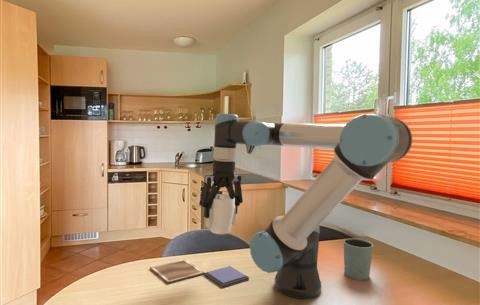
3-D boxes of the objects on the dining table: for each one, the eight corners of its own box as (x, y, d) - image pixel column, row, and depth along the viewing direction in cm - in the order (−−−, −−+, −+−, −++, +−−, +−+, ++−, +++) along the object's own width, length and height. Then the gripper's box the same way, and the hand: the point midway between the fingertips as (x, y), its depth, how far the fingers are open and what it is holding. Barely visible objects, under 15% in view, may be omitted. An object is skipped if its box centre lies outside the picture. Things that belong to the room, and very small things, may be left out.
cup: (234, 228, 118) (236, 195, 117) (231, 236, 109) (233, 200, 108) (209, 226, 119) (211, 193, 118) (204, 234, 110) (206, 198, 109)
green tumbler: (373, 282, 115) (375, 248, 114) (342, 278, 117) (345, 245, 116) (367, 270, 125) (370, 239, 124) (340, 267, 127) (342, 236, 126)
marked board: (204, 274, 115) (204, 272, 115) (167, 284, 107) (167, 282, 107) (184, 260, 126) (185, 259, 126) (149, 268, 118) (150, 267, 118)
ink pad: (248, 279, 113) (249, 276, 113) (222, 287, 106) (222, 284, 106) (229, 268, 121) (229, 265, 121) (204, 275, 115) (204, 271, 115)
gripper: (243, 158, 121) (239, 218, 123) (190, 158, 108) (186, 226, 110) (256, 160, 115) (251, 224, 117) (202, 161, 102) (198, 232, 104)
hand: (220, 225), depth 113 cm, fingers closed on cup, 9 cm apart
